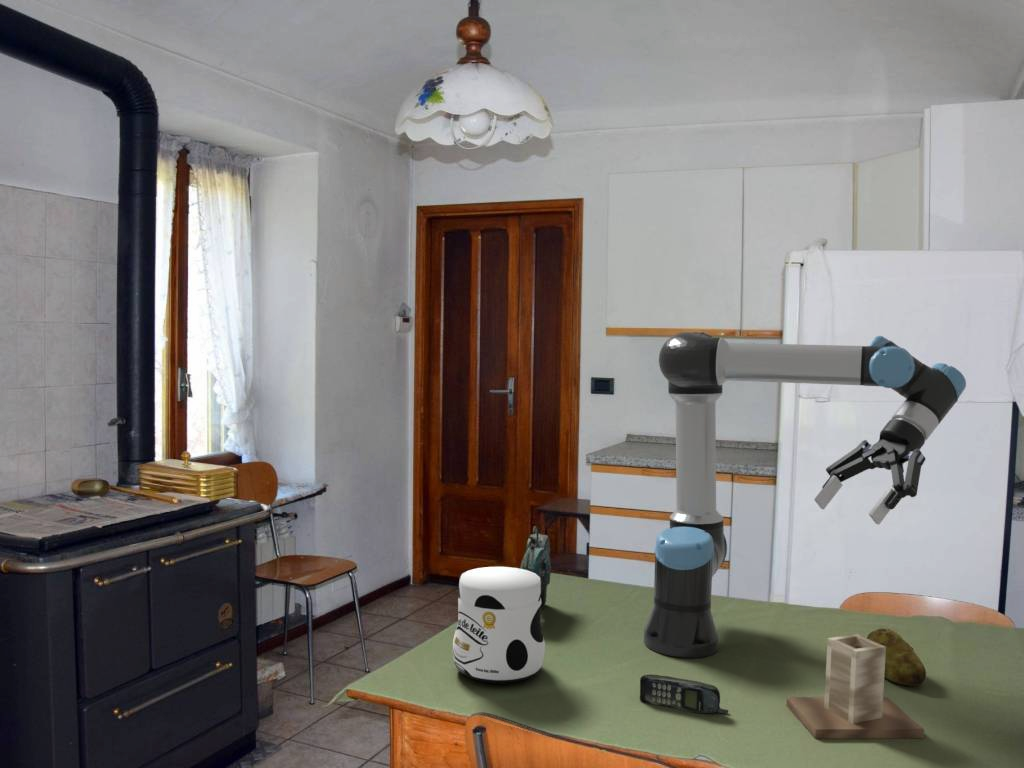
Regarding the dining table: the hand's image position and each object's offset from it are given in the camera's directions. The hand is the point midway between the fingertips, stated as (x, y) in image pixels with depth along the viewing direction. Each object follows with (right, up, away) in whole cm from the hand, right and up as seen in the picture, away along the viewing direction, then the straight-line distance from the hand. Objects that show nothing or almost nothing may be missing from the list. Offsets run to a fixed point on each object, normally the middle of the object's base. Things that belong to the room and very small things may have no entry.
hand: (845, 511), depth 160 cm
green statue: (-58, -28, +32) cm, 72 cm away
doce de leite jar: (-65, -30, 0) cm, 72 cm away
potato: (+10, -32, +3) cm, 34 cm away
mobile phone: (-33, -32, -13) cm, 48 cm away
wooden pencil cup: (-5, -31, -17) cm, 36 cm away
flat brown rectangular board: (-5, -33, -17) cm, 37 cm away
